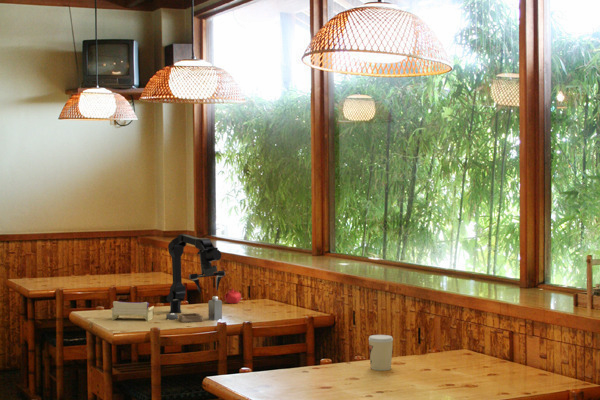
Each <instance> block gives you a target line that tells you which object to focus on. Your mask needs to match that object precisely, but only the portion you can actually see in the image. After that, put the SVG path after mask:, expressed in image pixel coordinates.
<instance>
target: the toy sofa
mask: <svg viewBox="0 0 600 400" xmlns="http://www.w3.org/2000/svg"><path fill="white" fill-rule="evenodd" d="M149 305H150V303H149V302H147V301H145V302H134V301H133V302H127V301H117V300H116V301H115V300H113V302H112V306H113V307H111V308H110V310H111V311H112V312H111V320H112V321H115V320H117V319H119V318H120V316H124V317H125V316H129V317H131V316H132V317H142V318H144V319H145V321H146V322H150V321H151V320H153V319H154V309H155V306H154V305H152V306H150V307H149Z"/></svg>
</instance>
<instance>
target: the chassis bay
mask: <svg viewBox="0 0 600 400" xmlns="http://www.w3.org/2000/svg"><path fill="white" fill-rule="evenodd" d="M178 321H180V322H181V323H183V324H187V323H200V322H201V323H202V322H203V315H202V314H200V313H198V312H193V313H192V312H191V313H190V312H189V313H178Z"/></svg>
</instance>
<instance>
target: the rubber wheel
mask: <svg viewBox="0 0 600 400" xmlns="http://www.w3.org/2000/svg"><path fill="white" fill-rule="evenodd" d="M167 319H169V320H168V321H174V320H175V319H176V320H179V313H170V312H169V313H166V320H167Z"/></svg>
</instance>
